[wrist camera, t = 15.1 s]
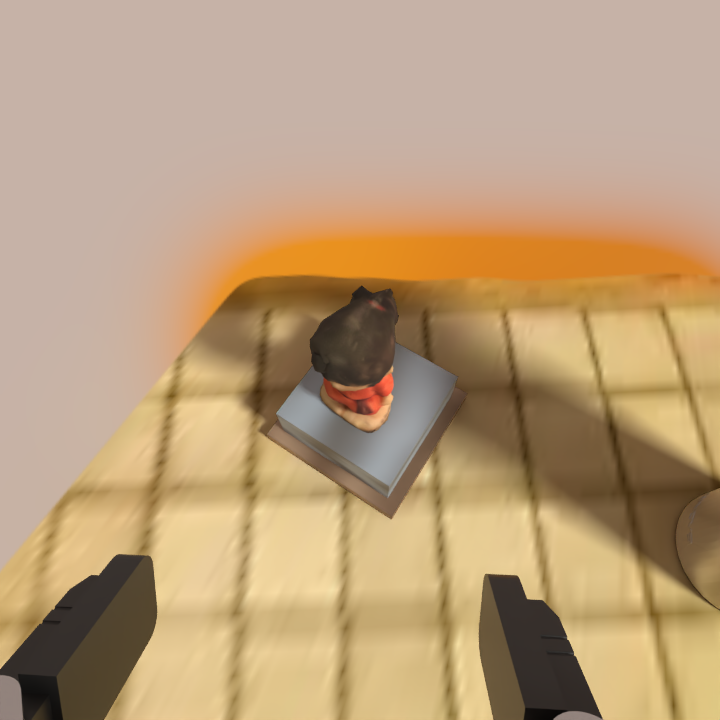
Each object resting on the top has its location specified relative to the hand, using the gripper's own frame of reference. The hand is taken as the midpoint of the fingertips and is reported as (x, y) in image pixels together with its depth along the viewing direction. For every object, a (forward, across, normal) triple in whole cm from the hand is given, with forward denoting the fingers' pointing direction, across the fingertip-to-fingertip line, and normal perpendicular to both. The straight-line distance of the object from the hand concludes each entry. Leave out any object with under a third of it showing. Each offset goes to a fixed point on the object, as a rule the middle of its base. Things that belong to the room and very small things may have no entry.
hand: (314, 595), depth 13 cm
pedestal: (+31, 0, +7) cm, 32 cm away
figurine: (+27, 0, +4) cm, 28 cm away
